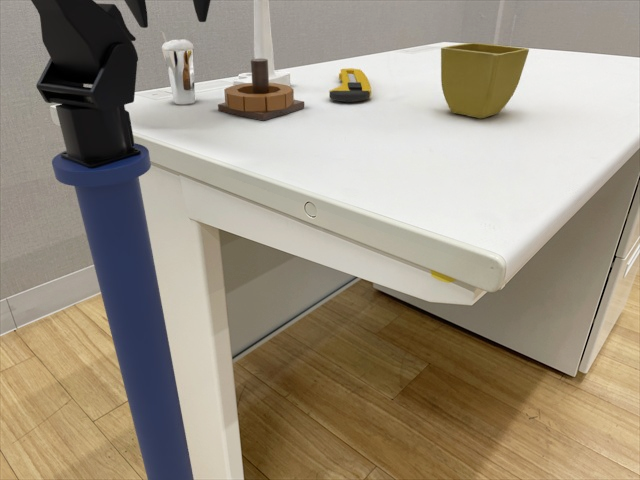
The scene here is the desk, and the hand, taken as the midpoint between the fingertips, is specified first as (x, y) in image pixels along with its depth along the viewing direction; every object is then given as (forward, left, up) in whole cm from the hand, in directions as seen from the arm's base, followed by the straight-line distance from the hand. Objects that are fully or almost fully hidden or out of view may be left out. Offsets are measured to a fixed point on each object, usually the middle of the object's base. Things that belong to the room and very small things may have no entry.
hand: (174, 24), depth 64 cm
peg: (+10, -5, -12) cm, 16 cm away
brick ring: (+9, -5, -11) cm, 15 cm away
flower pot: (+27, -31, -12) cm, 43 cm away
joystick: (+20, +5, -12) cm, 24 cm away
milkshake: (+6, +8, -12) cm, 16 cm away
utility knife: (+30, -7, -12) cm, 33 cm away
